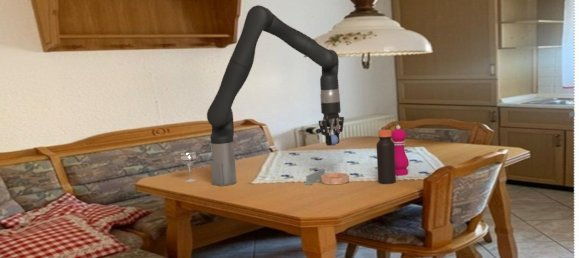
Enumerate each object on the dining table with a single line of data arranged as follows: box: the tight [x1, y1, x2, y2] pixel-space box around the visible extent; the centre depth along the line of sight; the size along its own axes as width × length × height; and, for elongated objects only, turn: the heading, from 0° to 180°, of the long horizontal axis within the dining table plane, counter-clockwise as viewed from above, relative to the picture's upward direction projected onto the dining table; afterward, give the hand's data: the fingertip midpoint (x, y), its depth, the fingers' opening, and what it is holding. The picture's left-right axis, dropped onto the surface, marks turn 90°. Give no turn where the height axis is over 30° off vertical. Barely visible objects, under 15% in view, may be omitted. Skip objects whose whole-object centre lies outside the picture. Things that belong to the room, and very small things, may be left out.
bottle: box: [376, 129, 397, 185], centre depth 218 cm, size 7×7×20 cm
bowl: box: [320, 172, 350, 186], centre depth 226 cm, size 11×11×2 cm
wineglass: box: [180, 151, 197, 183], centre depth 246 cm, size 7×7×12 cm
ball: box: [331, 133, 339, 147], centre depth 224 cm, size 4×4×4 cm
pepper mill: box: [391, 124, 410, 176], centre depth 231 cm, size 7×7×20 cm
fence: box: [303, 168, 326, 186], centre depth 229 cm, size 14×3×4 cm, turn 149°
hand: (332, 144), depth 224 cm, fingers closed on ball, 4 cm apart
